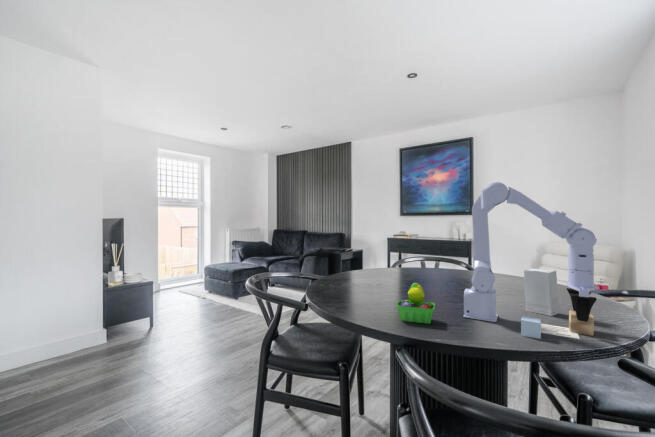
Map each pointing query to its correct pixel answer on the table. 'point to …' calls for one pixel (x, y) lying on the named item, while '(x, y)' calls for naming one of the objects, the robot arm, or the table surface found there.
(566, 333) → the letter
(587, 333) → the oak block
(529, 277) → the skincare box
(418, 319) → the fruit basket
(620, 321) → the table surface
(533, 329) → the blue cube
